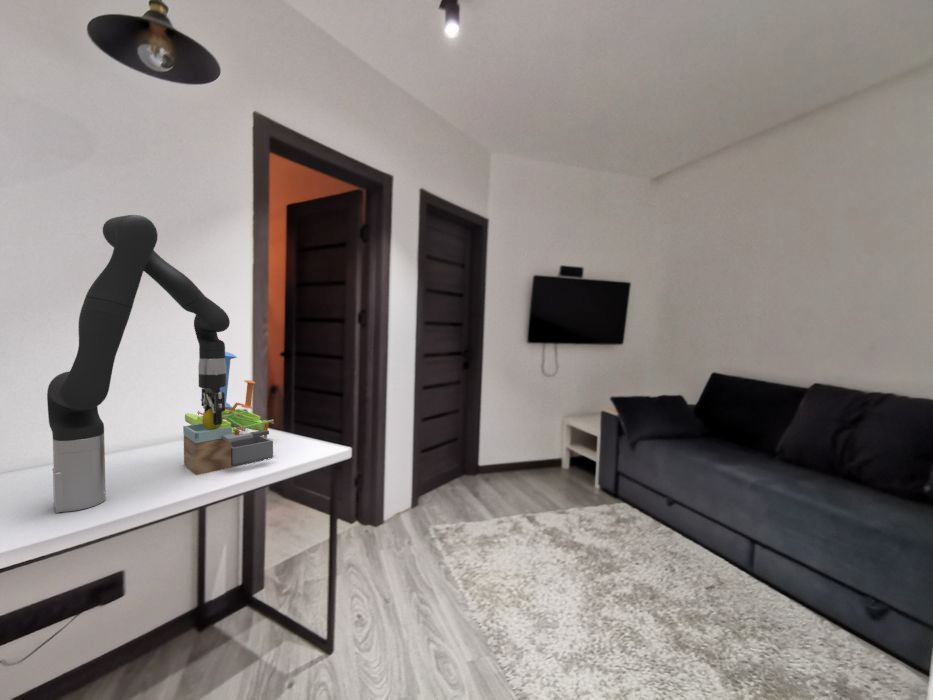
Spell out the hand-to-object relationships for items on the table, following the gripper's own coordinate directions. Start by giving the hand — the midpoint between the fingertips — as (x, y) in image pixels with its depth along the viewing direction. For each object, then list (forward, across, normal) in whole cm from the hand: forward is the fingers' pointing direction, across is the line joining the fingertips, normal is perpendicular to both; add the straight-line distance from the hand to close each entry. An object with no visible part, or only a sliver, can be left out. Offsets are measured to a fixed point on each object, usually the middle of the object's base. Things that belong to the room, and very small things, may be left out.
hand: (213, 422), depth 130 cm
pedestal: (+14, 0, -2) cm, 14 cm away
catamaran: (+14, -26, +14) cm, 33 cm away
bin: (+14, 0, +10) cm, 17 cm away
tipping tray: (+4, +3, +3) cm, 6 cm away
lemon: (+3, 0, 0) cm, 3 cm away
